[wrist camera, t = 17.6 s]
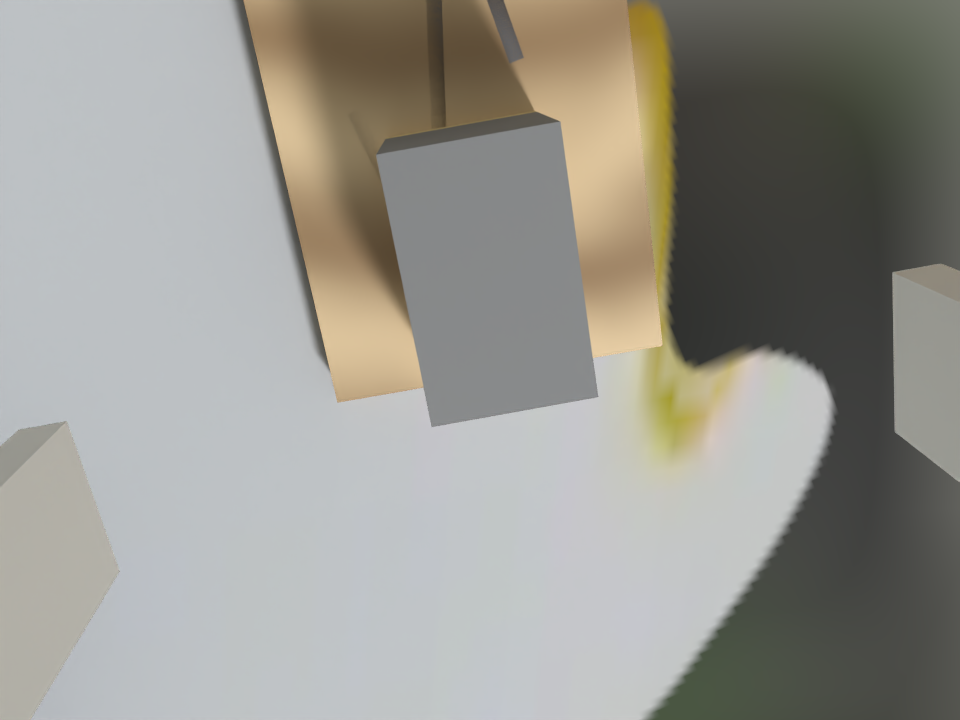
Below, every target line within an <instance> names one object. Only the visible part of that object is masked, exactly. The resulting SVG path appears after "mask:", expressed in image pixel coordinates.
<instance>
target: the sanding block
mask: <svg viewBox="0 0 960 720" xmlns="http://www.w3.org/2000/svg"><path fill="white" fill-rule="evenodd" d="M376 157H377V162H378V167H379V172H380V177H381V182H382V187H383V191H384V196H385V201H386V206H387V211H388V216H389V221H390V226H391V230H392V235H393V240H394V245H395V250H396V255H397V260H398V265H399V270H400V274H401V279H402V284H403V289H404V294H405V299H406V304H407V309H408V313H409V318H410V323H411V328H412V333H413V338H414V343H415V348H416V352H417V357H418V362H419V367H420V372H421V377H422V382H423V387H424V391H425V396H426V401H427V406H428V411H429V416H430V421H431V426H432V427H435V426H440V425H446V424H451V423H457V422H462V421H468V420H473V419H479V418H485V417H490V416H496V415H501V414H507V413H512V412H518V411H523V410H529V409H534V408H540V407H546V406H551V405H557V404H562V403H568V402H573V401H579V400H584V399H590V398H595V397H598V393H597V385H596V378H595V371H594V363H593V356H592V349H591V341H590V334H589V327H588V319H587V312H586V305H585V297H584V290H583V283H582V275H581V268H580V261H579V253H578V246H577V239H576V231H575V224H574V217H573V210H572V202H571V195H570V188H569V180H568V173H567V166H566V158H565V151H564V144H563V136H562V129H561V122H560V121H558V120H556V119H553V118H551V117H548V116H546V115H543V114H541V113H539V112H536V111H531V112H526V113H520V114H515V115H509V116H504V117H498V118H493V119H487V120H482V121H476V122H470V123H465V124H459V125H454V126H448V127H443V128H437V129H432V130H426V131H421V132H415V133H410V134H404V135H399V136H393V137H388V138H386V139H385V141H384V142H383V144H382V146H381V147H380V149H379V151H378V152H377V154H376Z"/></svg>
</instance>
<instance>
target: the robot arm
mask: <svg viewBox="0 0 960 720" xmlns="http://www.w3.org/2000/svg"><path fill="white" fill-rule="evenodd" d="M893 335H894V336H893V337H894V400H895V401H894V402H895V432H896V433H897V434H899V435H900V436H901V437H902V438H904V439H905V440H906V441H907V442H909V443H910V444H911V445H913V446H914V447H915V448H916V449H918V450H919V451H920V452H921V453H923V454H924V455H926V456H927V457H928V458H929V459H931V460H932V461H933V462H934V463H936V464H937V465H938V466H939V467H941V468H942V469H943V470H945V471H946V472H947V473H948V474H950V475H951V476H952V477H953V478H955V479H956V480H957V481H959V482H960V271H958V270H955V269H953V268H950V267H948V266H945V265H943V264H936V265H931V266H926V267H920V268H914V269H909V270H903V271H898V272H893ZM119 572H120V571H119V568H118V565H117V562H116V559H115V557H114V554H113V551H112V548H111V545H110V542H109V539H108V537H107V534H106V531H105V528H104V525H103V522H102V520H101V517H100V514H99V511H98V508H97V505H96V503H95V500H94V497H93V494H92V491H91V488H90V486H89V483H88V480H87V477H86V474H85V471H84V469H83V466H82V463H81V460H80V457H79V454H78V452H77V449H76V446H75V443H74V440H73V437H72V435H71V432H70V429H69V426H68V423H67V421H65V422H59V423H54V424H48V425H43V426H37V427H32V428H26V429H20V430H18V431H17V432H16V433H14V434H13V435H12V436H11V437H10V438H9V439H8V440H7V441H6V442H4V443H3V444H2V445H1V446H0V720H31V718H32V717H33V715H34V713H35V712H36V710H37V708H38V707H39V705H40V703H41V702H42V700H43V698H44V697H45V695H46V693H47V692H48V690H49V688H50V687H51V685H52V683H53V682H54V680H55V678H56V677H57V675H58V673H59V672H60V670H61V668H62V667H63V665H64V663H65V662H66V660H67V658H68V657H69V655H70V653H71V652H72V650H73V648H74V647H75V645H76V643H77V642H78V640H79V638H80V637H81V635H82V633H83V632H84V630H85V628H86V627H87V625H88V624H89V622H90V620H91V619H92V617H93V615H94V614H95V612H96V610H97V609H98V607H99V605H100V604H101V602H102V600H103V599H104V597H105V595H106V594H107V592H108V590H109V589H110V587H111V585H112V584H113V582H114V580H115V579H116V577H117V575H118V574H119Z"/></svg>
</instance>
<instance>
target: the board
mask: <svg viewBox="0 0 960 720" xmlns="http://www.w3.org/2000/svg"><path fill="white" fill-rule="evenodd" d="M243 1H244V5H245V9H246V14H247V18H248V22H249V27H250V31H251V35H252V39H253V44H254V48H255V52H256V56H257V61H258V65H259V69H260V73H261V78H262V82H263V86H264V91H265V95H266V99H267V103H268V108H269V112H270V116H271V120H272V125H273V129H274V133H275V137H276V142H277V146H278V150H279V155H280V159H281V163H282V167H283V172H284V176H285V180H286V184H287V189H288V193H289V197H290V202H291V206H292V210H293V214H294V219H295V223H296V227H297V231H298V236H299V240H300V244H301V248H302V253H303V257H304V261H305V266H306V270H307V274H308V278H309V283H310V287H311V291H312V295H313V300H314V304H315V308H316V313H317V317H318V321H319V325H320V330H321V334H322V338H323V342H324V347H325V351H326V355H327V359H328V364H329V368H330V372H331V377H332V381H333V385H334V389H335V394H336V398H337V402H344V401H349V400H355V399H361V398H367V397H372V396H378V395H384V394H389V393H395V392H401V391H407V390H412V389H418V388H424V387H423V382H422V377H421V372H420V367H419V362H418V357H417V352H416V348H415V343H414V338H413V333H412V328H411V323H410V318H409V313H408V309H407V304H406V299H405V294H404V289H403V284H402V279H401V274H400V270H399V265H398V260H397V255H396V250H395V245H394V240H393V235H392V230H391V226H390V221H389V216H388V211H387V206H386V201H385V196H384V191H383V187H382V182H381V177H380V172H379V167H378V162H377V157H376V154H377V152H378V151H379V149H380V147H381V146H382V144H383V142H384V141H385V139H386V138H388V137H393V136H399V135H404V134H410V133H415V132H421V131H426V130H432V129H437V128H443V127H448V126H454V125H459V124H465V123H470V122H476V121H482V120H487V119H493V118H498V117H504V116H509V115H515V114H520V113H526V112H531V111H536V112H539V113H541V114H543V115H546V116H548V117H551V118H553V119H556V120H558V121H560V122H561V129H562V136H563V144H564V151H565V158H566V166H567V173H568V180H569V188H570V195H571V202H572V210H573V217H574V224H575V231H576V239H577V246H578V253H579V261H580V268H581V275H582V283H583V290H584V297H585V305H586V312H587V319H588V327H589V334H590V341H591V349H592V356H593V358H595V357H601V356H607V355H612V354H618V353H624V352H629V351H635V350H641V349H647V348H652V347H658V346H662V337H661V327H660V318H659V308H658V298H657V288H656V279H655V269H654V259H653V249H652V240H651V230H650V220H649V211H648V201H647V191H646V181H645V172H644V162H643V152H642V142H641V133H640V123H639V113H638V104H637V94H636V84H635V74H634V65H633V55H632V45H631V35H630V26H629V16H628V6H627V0H243Z"/></svg>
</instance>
